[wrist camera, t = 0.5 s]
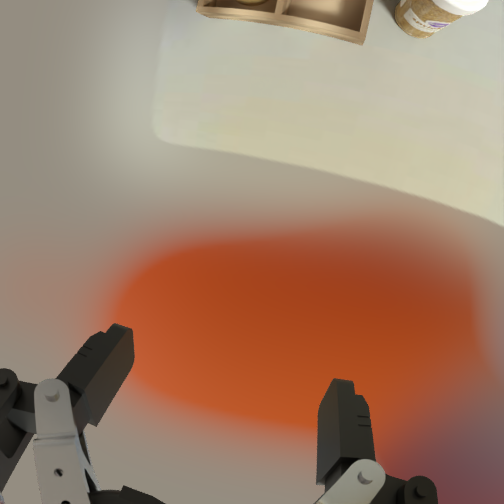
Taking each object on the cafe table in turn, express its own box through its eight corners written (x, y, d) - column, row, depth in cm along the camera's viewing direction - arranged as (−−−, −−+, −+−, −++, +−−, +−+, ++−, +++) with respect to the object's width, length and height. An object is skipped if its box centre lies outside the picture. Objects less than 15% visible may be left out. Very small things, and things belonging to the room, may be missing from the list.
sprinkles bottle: (406, 43, 23) (448, 14, 12) (385, 3, 21) (412, -47, 10) (444, 34, 21) (502, 7, 10) (424, -5, 19) (468, -52, 8)
